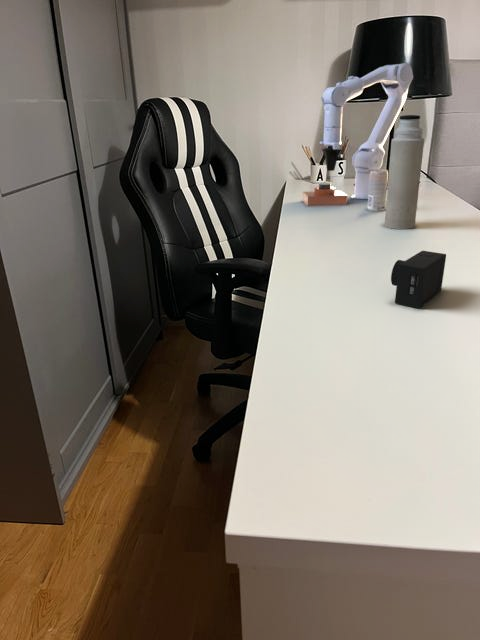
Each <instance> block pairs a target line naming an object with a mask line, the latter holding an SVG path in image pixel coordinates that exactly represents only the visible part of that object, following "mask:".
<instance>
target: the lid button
mask: <svg viewBox="0 0 480 640" xmlns="http://www.w3.org/2000/svg"><path fill="white" fill-rule="evenodd" d="M318 187H319V189H331V187H332V183H330V182H320V183H318Z"/></svg>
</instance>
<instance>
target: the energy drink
mask: <svg viewBox="0 0 480 640" xmlns="http://www.w3.org/2000/svg"><path fill="white" fill-rule="evenodd" d="M388 177H389V169H383V168H382V169H381V168H380V169H375V170H371V172H370V180H369V194H368V199H367V207H366V208H367V210H368V211H370V212H382V211H384V210H386V201H387V191H388Z"/></svg>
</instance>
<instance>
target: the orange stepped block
mask: <svg viewBox="0 0 480 640" xmlns="http://www.w3.org/2000/svg"><path fill="white" fill-rule="evenodd" d="M302 202H303V203H304V204H305V205H306V206H307V207H321V206H323V207H326V206H347V204H348V194H346V193H345V192H343V191H341V190H336V187H335V186H331V189H319V186H314V188H313V190H312V191H302Z"/></svg>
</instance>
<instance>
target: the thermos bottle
mask: <svg viewBox="0 0 480 640" xmlns="http://www.w3.org/2000/svg"><path fill="white" fill-rule="evenodd" d="M420 119H421V115H418V114H406V115H405V114H404V115H400V116H399V120H400V121H399V124H398V127H397V128H396V129H395V131H394V137H393V138H392V139H391V142H390V156H389V167H388V180H387V191H386V203H385V212H384V223H383V225H384V227H385V228H389V229H396V230H409V229H413V228H415V226H416V220H417V210H418V209H417V208H418V200H419V190H420V180H421V173H422V165H423V156H424V155H423V154H424V146H425V138H423V134H424V133H423V129H422V128H421V127H420Z"/></svg>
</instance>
